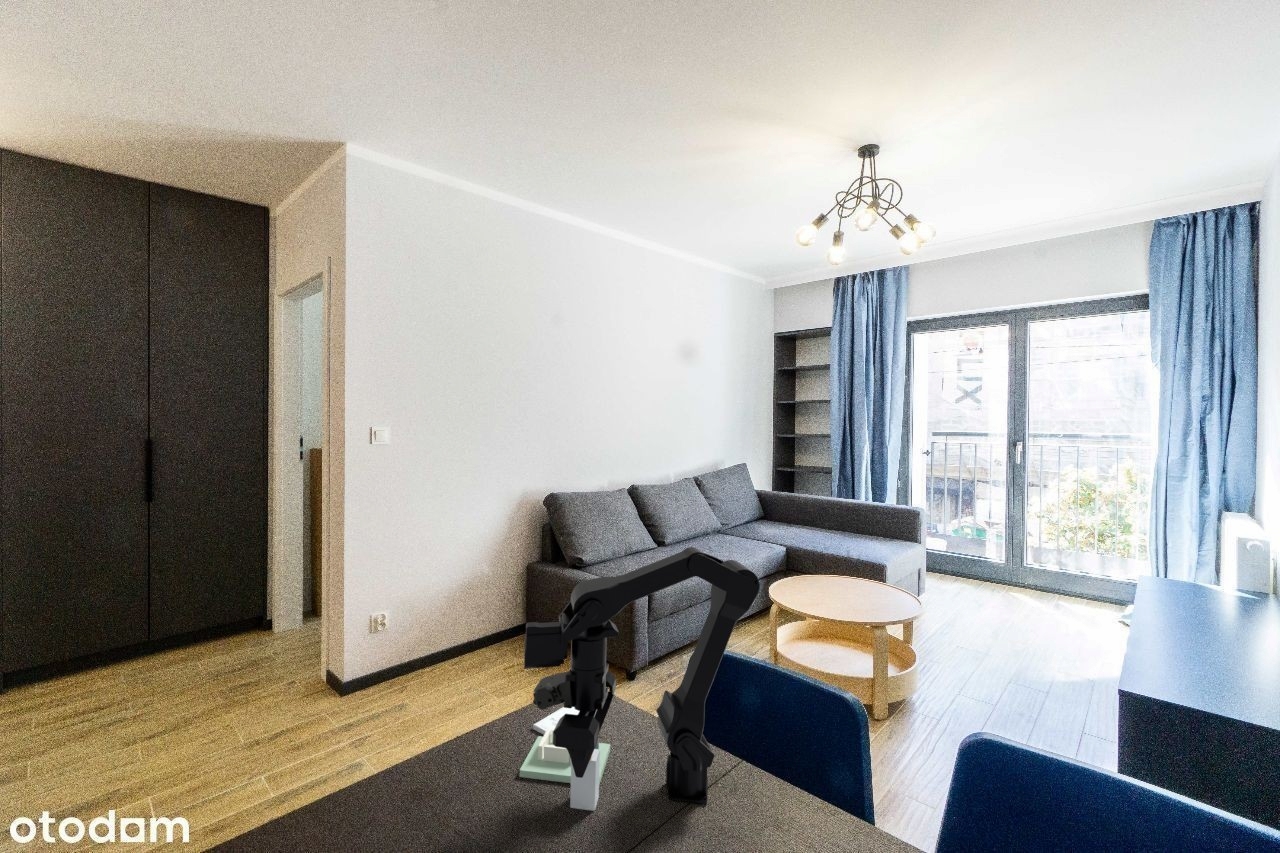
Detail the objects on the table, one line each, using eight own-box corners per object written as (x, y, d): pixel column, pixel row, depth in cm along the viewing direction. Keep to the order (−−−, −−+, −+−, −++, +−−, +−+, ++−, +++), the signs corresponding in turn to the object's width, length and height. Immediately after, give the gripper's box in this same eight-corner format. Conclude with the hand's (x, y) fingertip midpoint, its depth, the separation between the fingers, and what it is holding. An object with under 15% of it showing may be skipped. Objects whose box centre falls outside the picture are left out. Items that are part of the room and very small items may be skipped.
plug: (598, 797, 88) (600, 745, 88) (594, 810, 85) (596, 757, 85) (574, 794, 89) (576, 743, 89) (570, 807, 86) (571, 754, 86)
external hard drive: (604, 719, 112) (561, 747, 102) (575, 705, 117) (532, 731, 107) (604, 711, 112) (561, 739, 102) (576, 698, 117) (532, 723, 107)
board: (610, 750, 101) (610, 730, 101) (598, 786, 91) (599, 765, 91) (538, 742, 103) (538, 723, 103) (519, 776, 93) (520, 755, 93)
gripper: (556, 635, 97) (555, 720, 97) (519, 686, 79) (518, 792, 79) (617, 640, 95) (615, 727, 96) (594, 694, 77) (592, 801, 77)
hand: (586, 758), depth 87 cm, fingers open, 9 cm apart
